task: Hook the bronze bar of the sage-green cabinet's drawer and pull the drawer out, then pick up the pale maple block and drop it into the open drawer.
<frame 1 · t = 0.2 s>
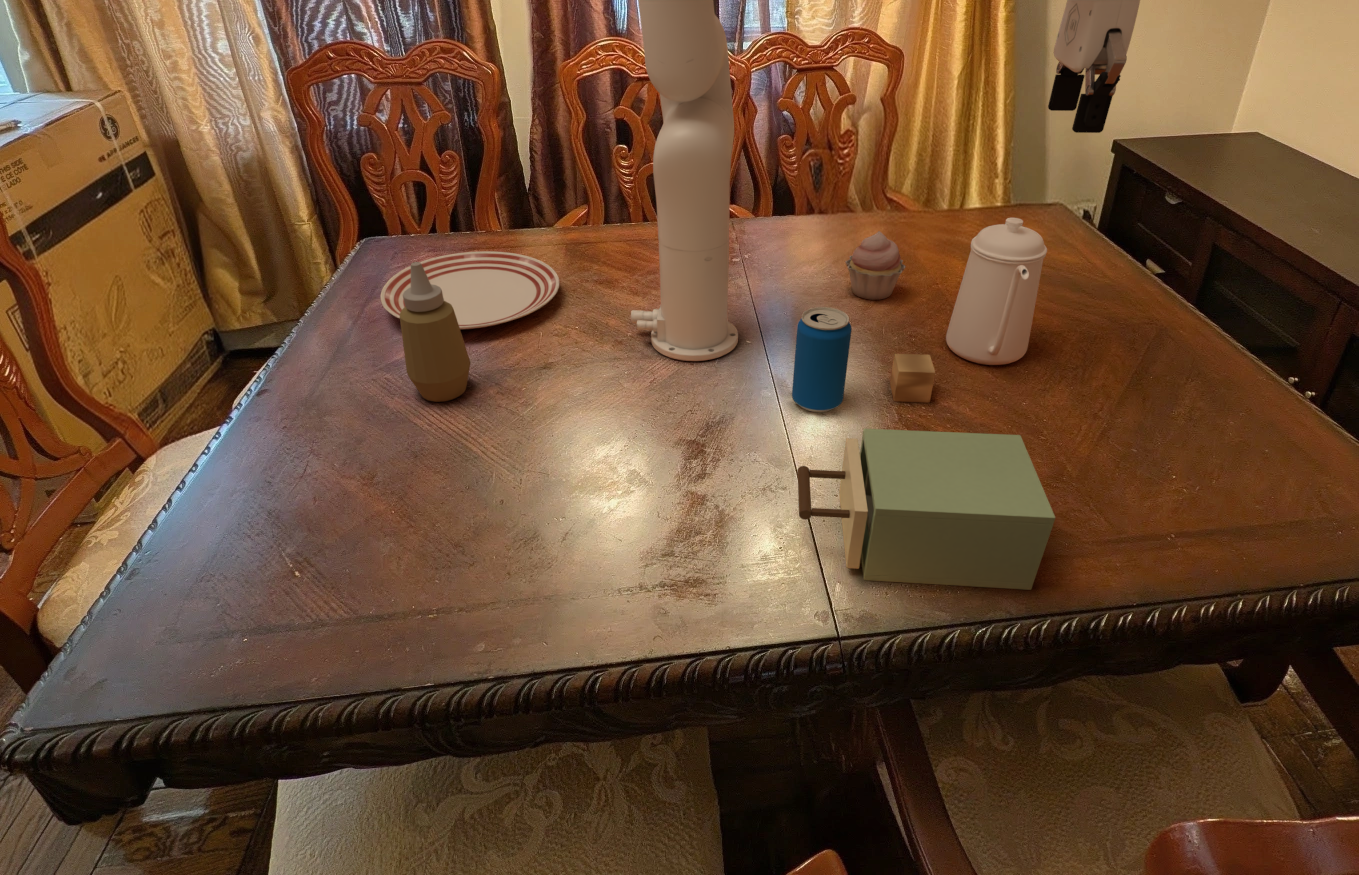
hand: (1073, 120, 94), 31 cm above the table, tool pointing down, fingers open, 9 cm apart
squeeze bottle: (444, 392, 106), on the table
cupcake: (871, 292, 129), on the table
block: (909, 392, 104), on the table
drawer: (895, 503, 79), point 5 cm above the table, slide at 0.5 cm
beverage can: (816, 402, 103), on the table
dinner plate: (474, 303, 128), on the table
cabinet: (936, 540, 81), on the table
coffeepot: (984, 351, 113), on the table
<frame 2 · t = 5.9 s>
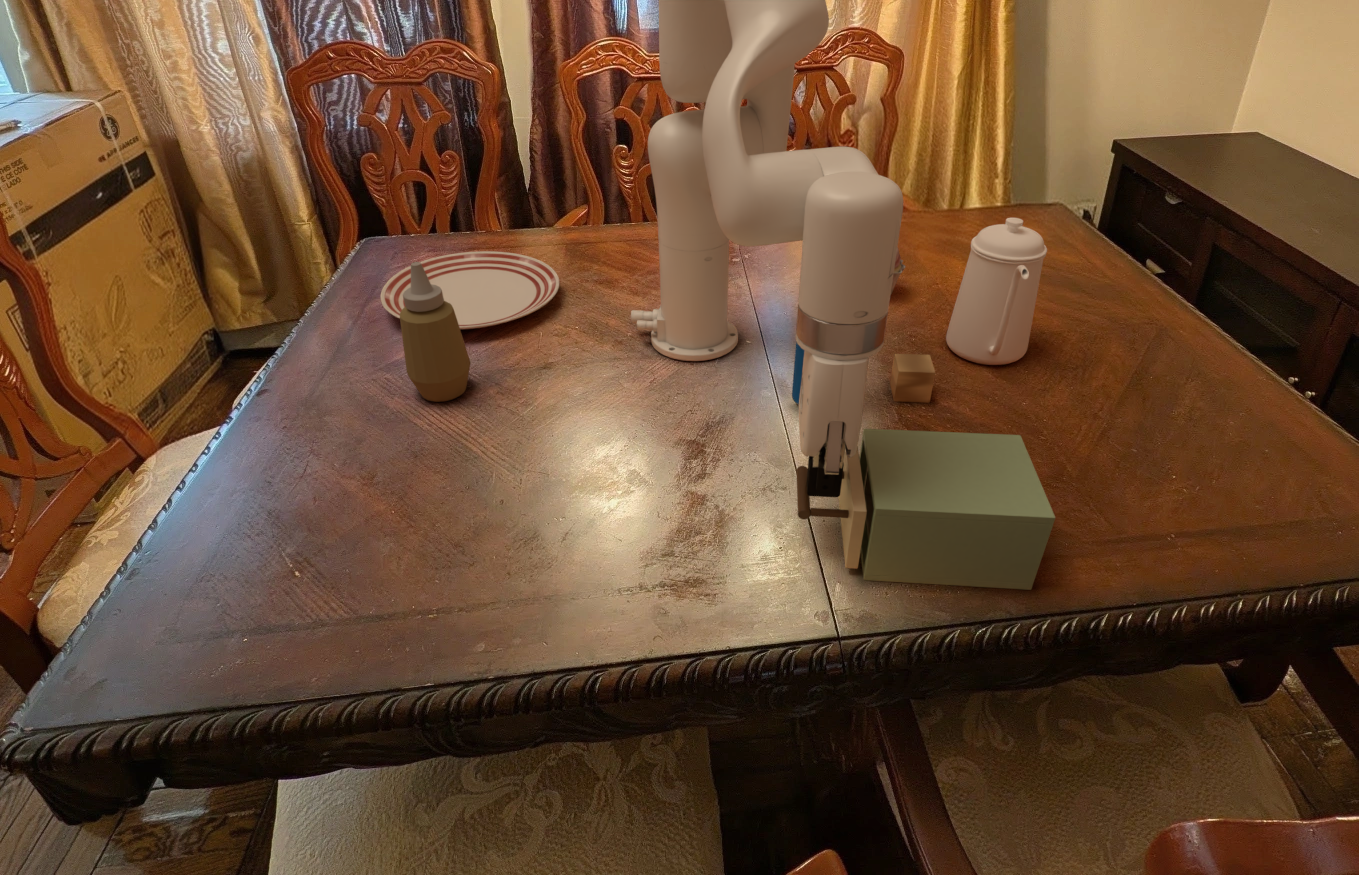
hand: (822, 491, 79), 6 cm above the table, tool pointing down, fingers closed
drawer: (894, 503, 79), point 5 cm above the table, slide at 0.6 cm, touching gripper
everything else where it was.
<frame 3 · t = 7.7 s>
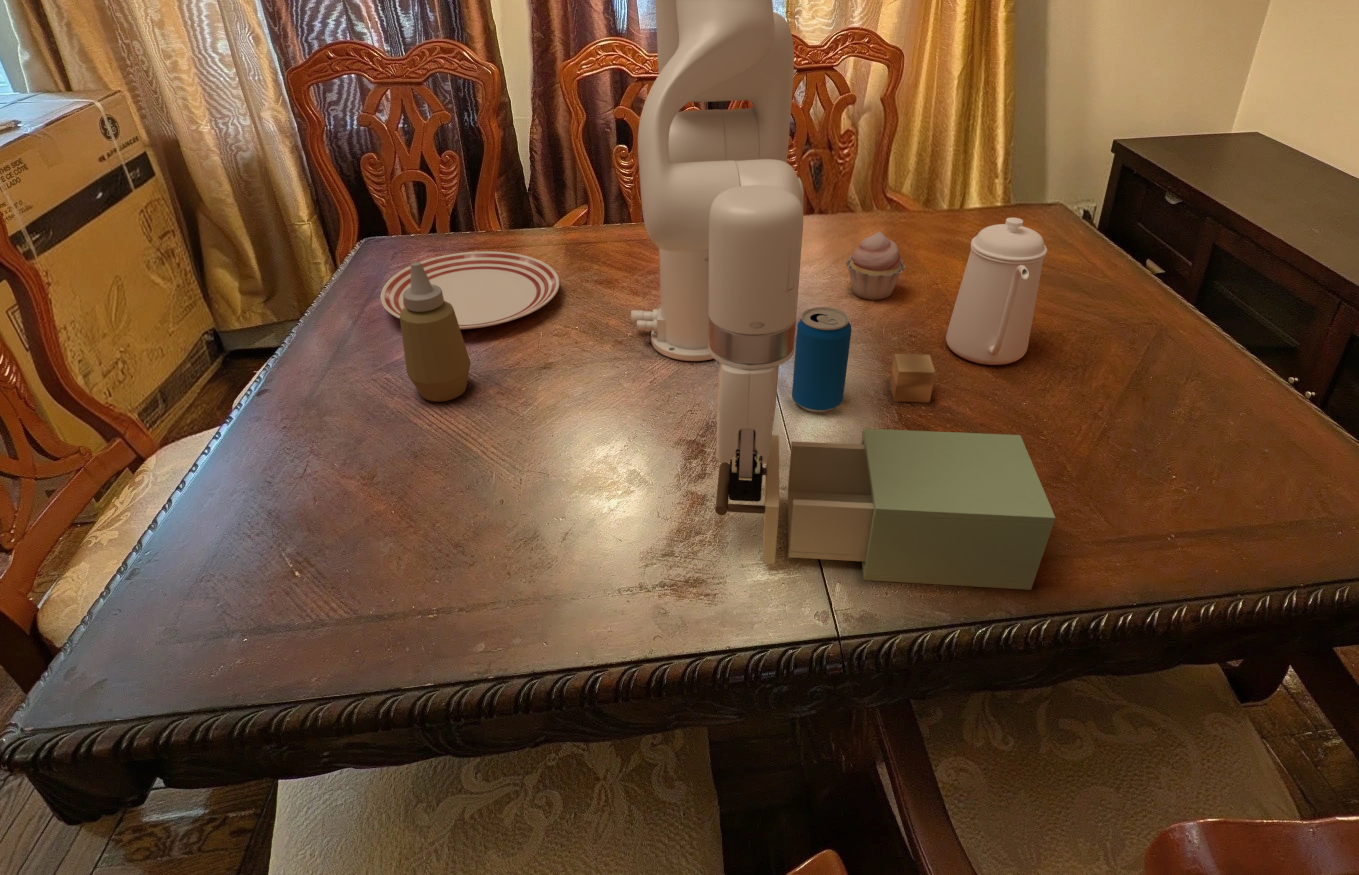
hand: (745, 495, 80), 5 cm above the table, tool pointing down, fingers closed
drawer: (813, 499, 80), point 5 cm above the table, slide at 8.5 cm, touching gripper
everything else where it was.
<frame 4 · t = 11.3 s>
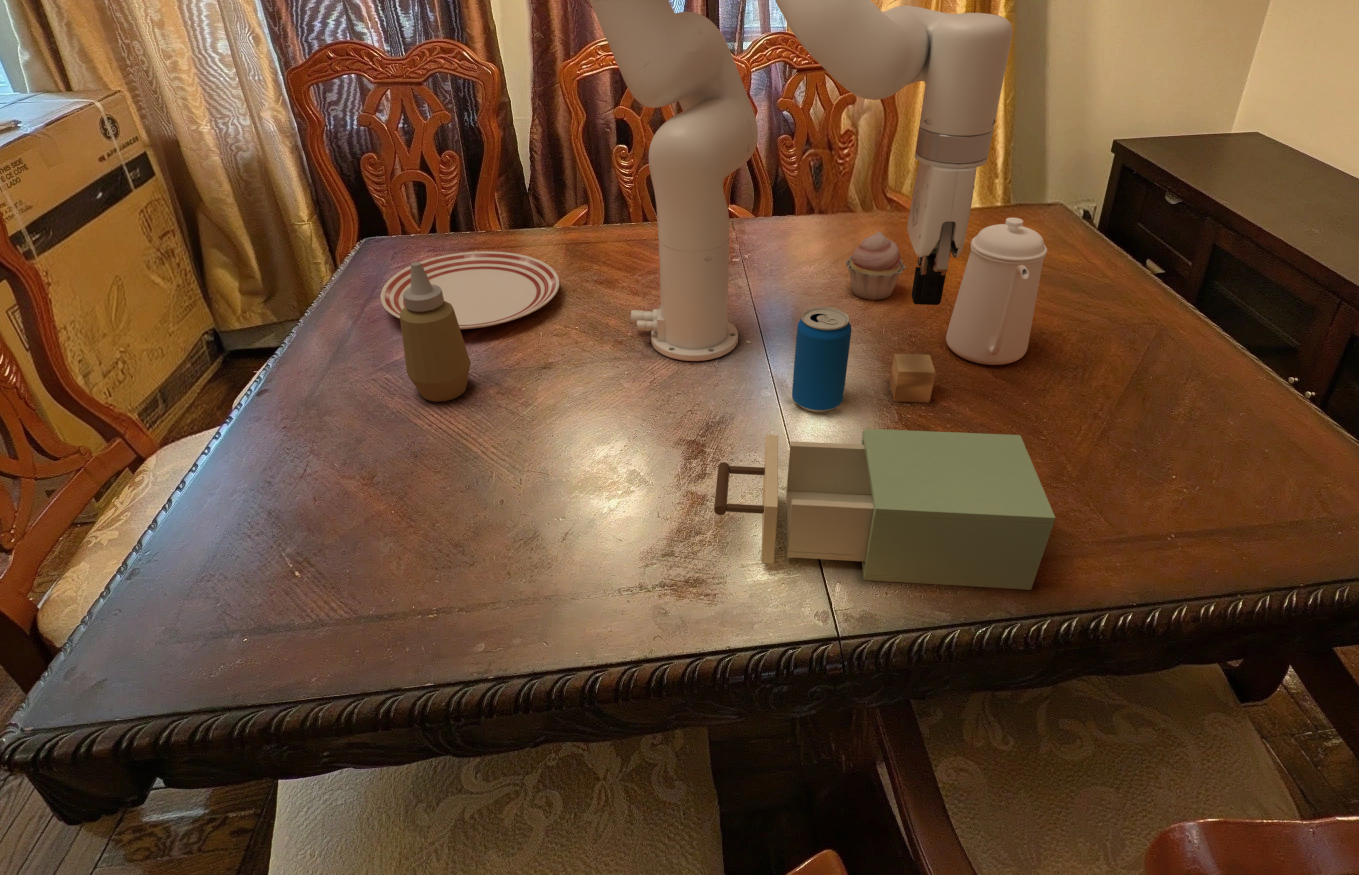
hand: (925, 301, 96), 13 cm above the table, tool pointing down, fingers closed
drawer: (812, 499, 80), point 5 cm above the table, slide at 8.7 cm
everything else where it was.
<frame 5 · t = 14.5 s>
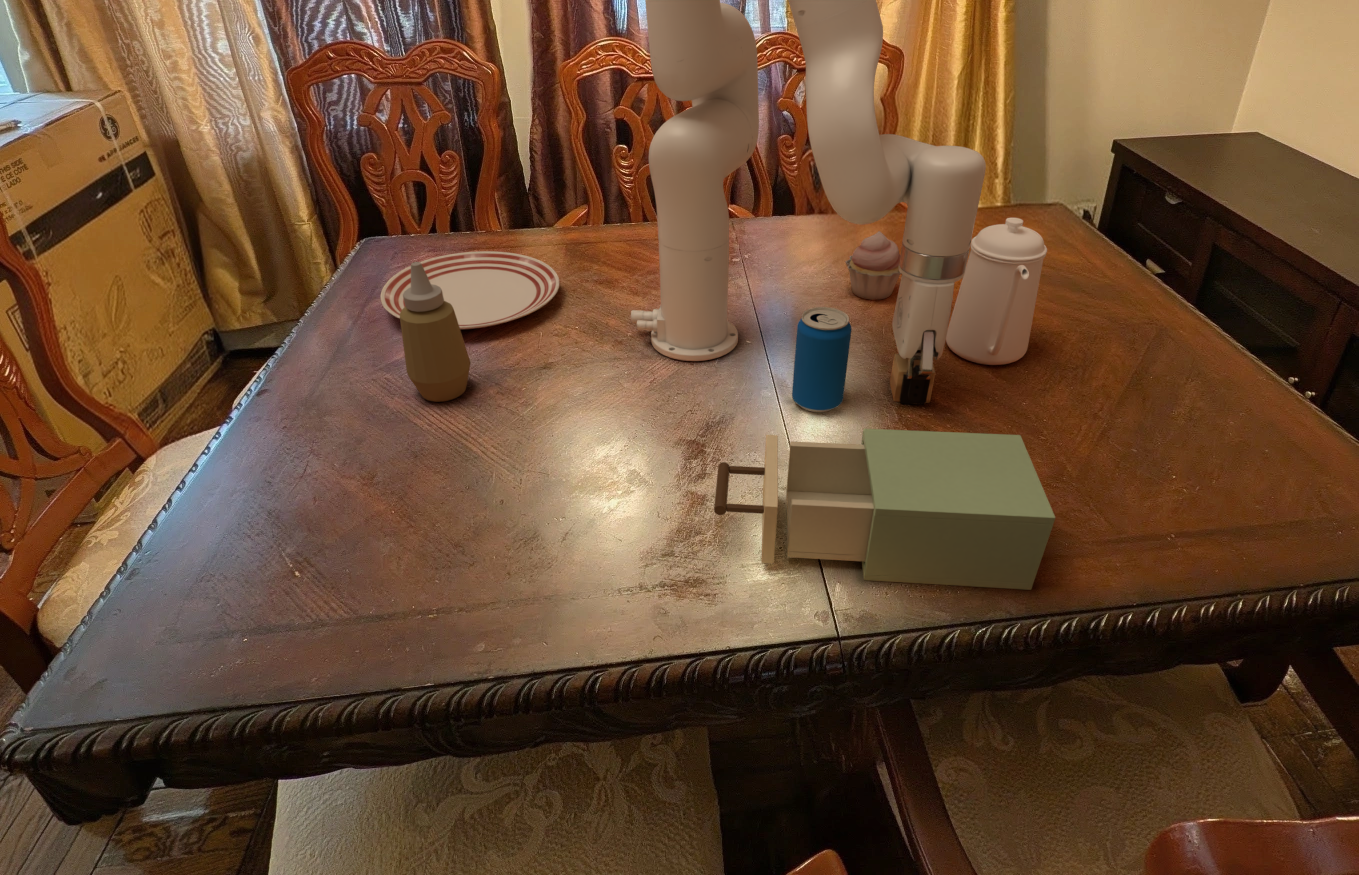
hand: (909, 390, 104), 0 cm above the table, tool pointing down, fingers closed on block, 4 cm apart
block: (909, 392, 104), on the table, touching gripper
everything else where it was.
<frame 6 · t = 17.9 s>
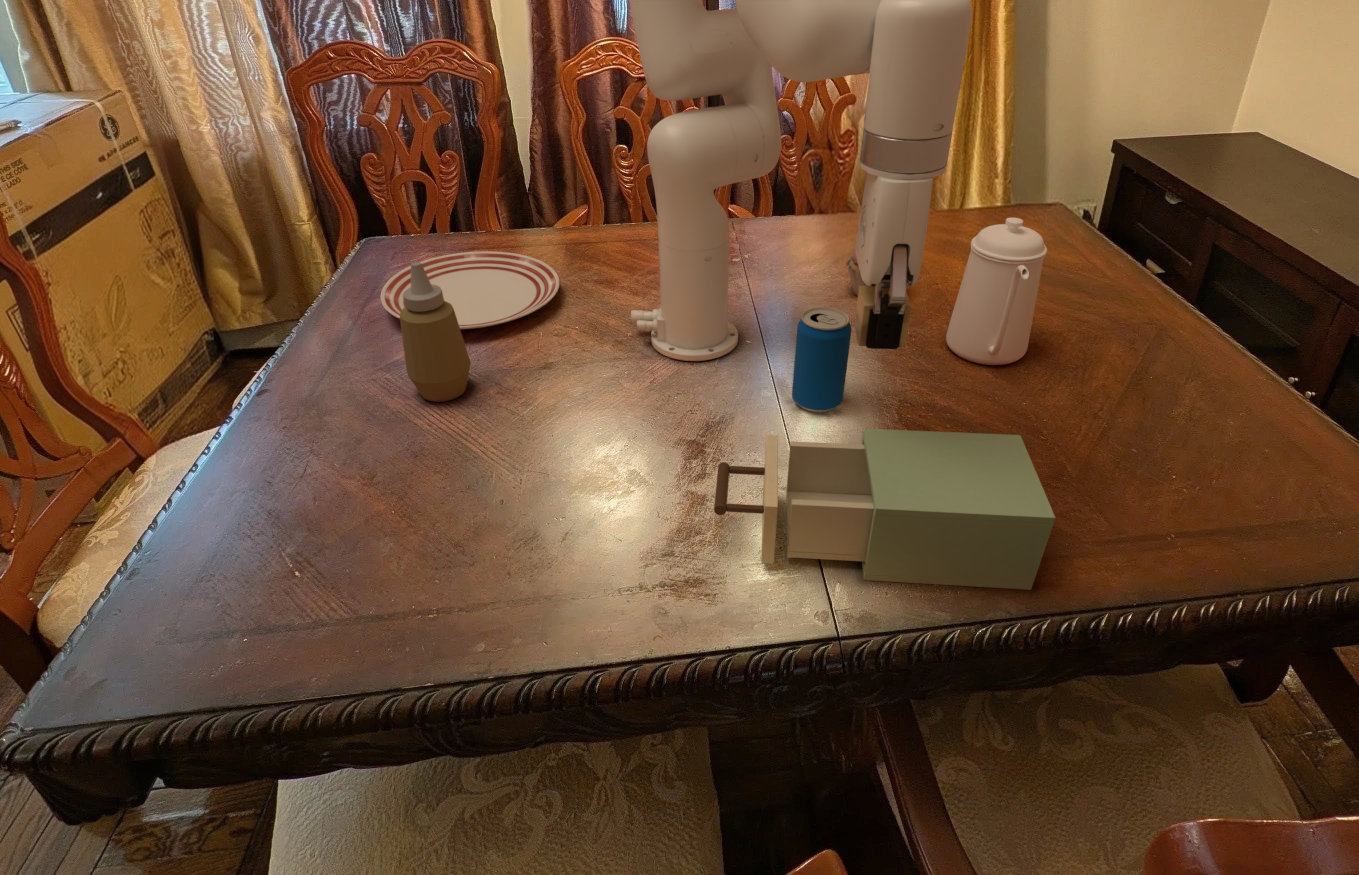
hand: (878, 333, 81), 17 cm above the table, tool pointing down, fingers closed on block, 4 cm apart
block: (879, 336, 81), point 17 cm above the table, touching gripper
everything else where it was.
when the fingers open (9 cm above the table, at t = 21.5 s): block drops 7 cm, resting on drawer.
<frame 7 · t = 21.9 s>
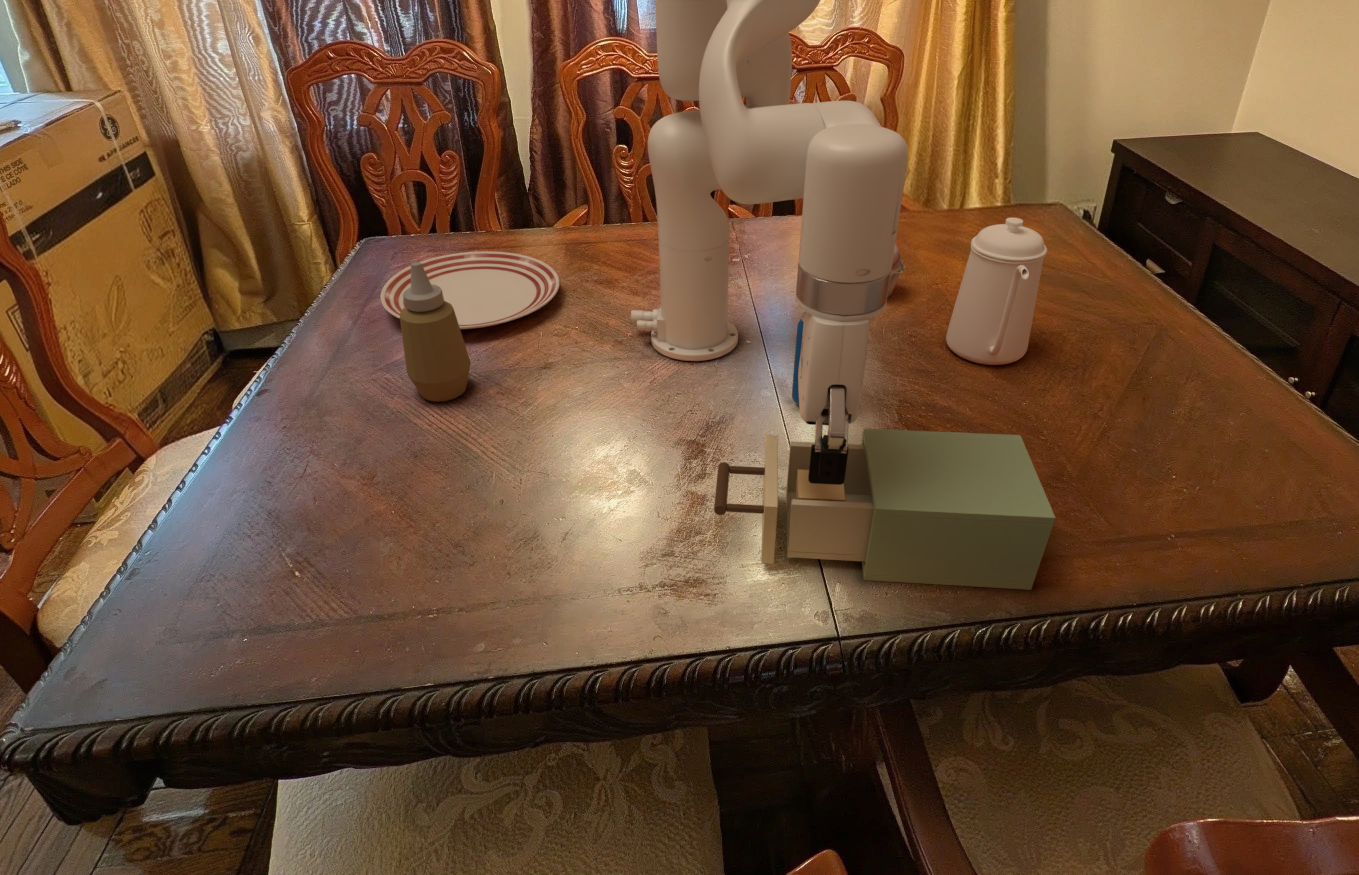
hand: (823, 451, 77), 11 cm above the table, tool pointing down, fingers open, 8 cm apart
block: (817, 518, 81), point 2 cm above the table, touching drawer
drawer: (812, 499, 80), point 5 cm above the table, slide at 8.7 cm, touching block
everything else where it was.
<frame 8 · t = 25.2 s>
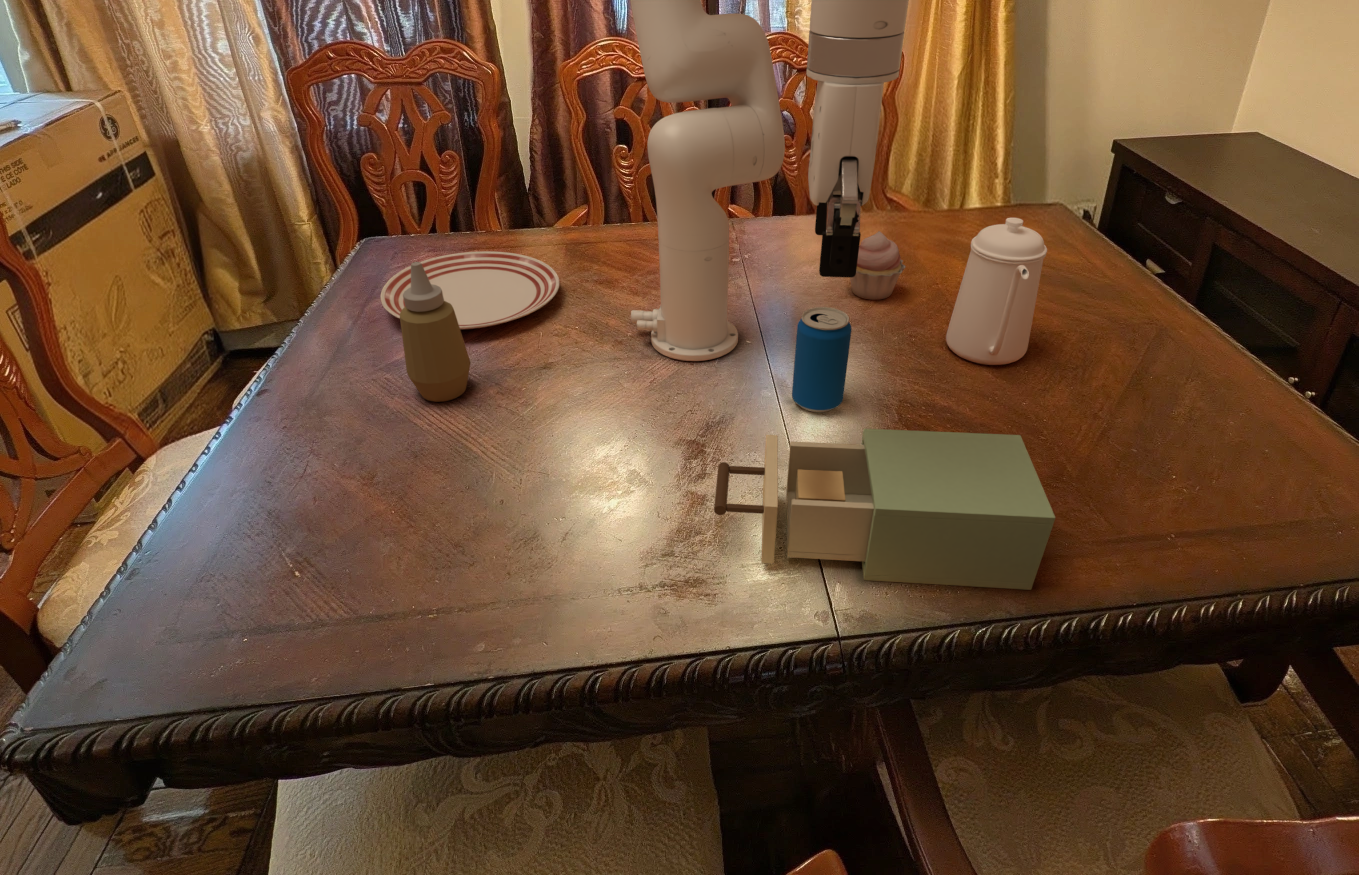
hand: (833, 254, 75), 26 cm above the table, tool pointing down, fingers open, 9 cm apart
nothing on the table moved.
at the end: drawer slide at 8.7 cm; block inside the target area in the cabinet (7.6 cm from its centre), point 2.0 cm above the cabinet's base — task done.
